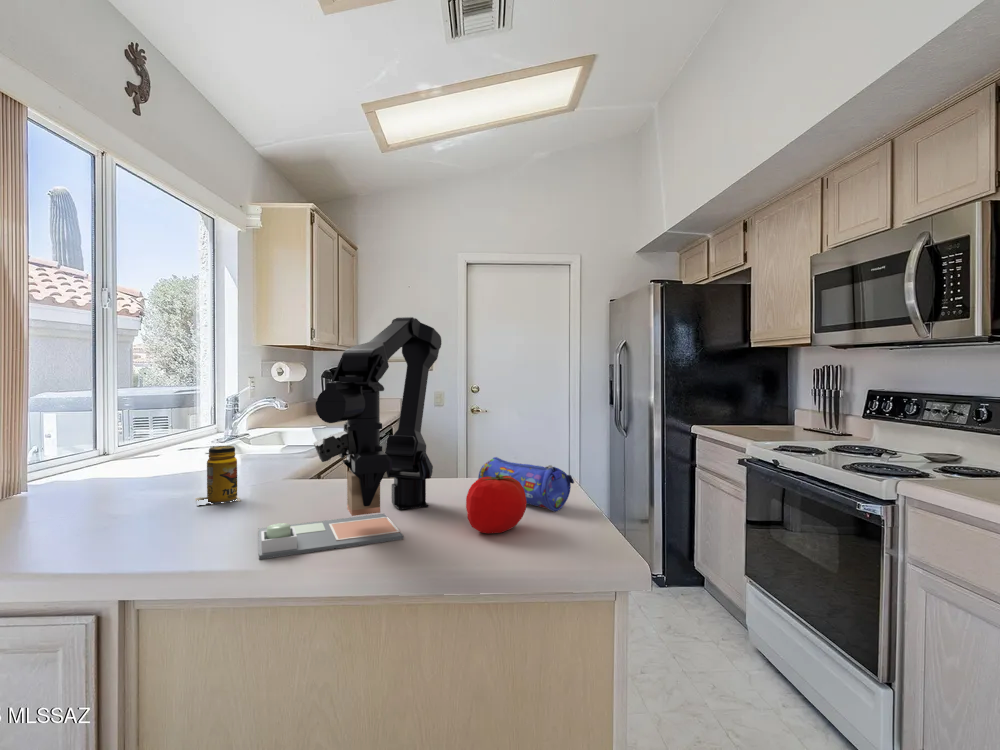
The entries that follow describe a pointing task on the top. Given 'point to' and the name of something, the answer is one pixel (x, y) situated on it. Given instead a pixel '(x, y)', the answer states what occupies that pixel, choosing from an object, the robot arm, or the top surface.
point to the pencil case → (534, 481)
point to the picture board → (329, 535)
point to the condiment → (221, 475)
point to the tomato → (495, 504)
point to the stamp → (360, 497)
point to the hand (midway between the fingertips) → (363, 502)
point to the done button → (278, 531)
